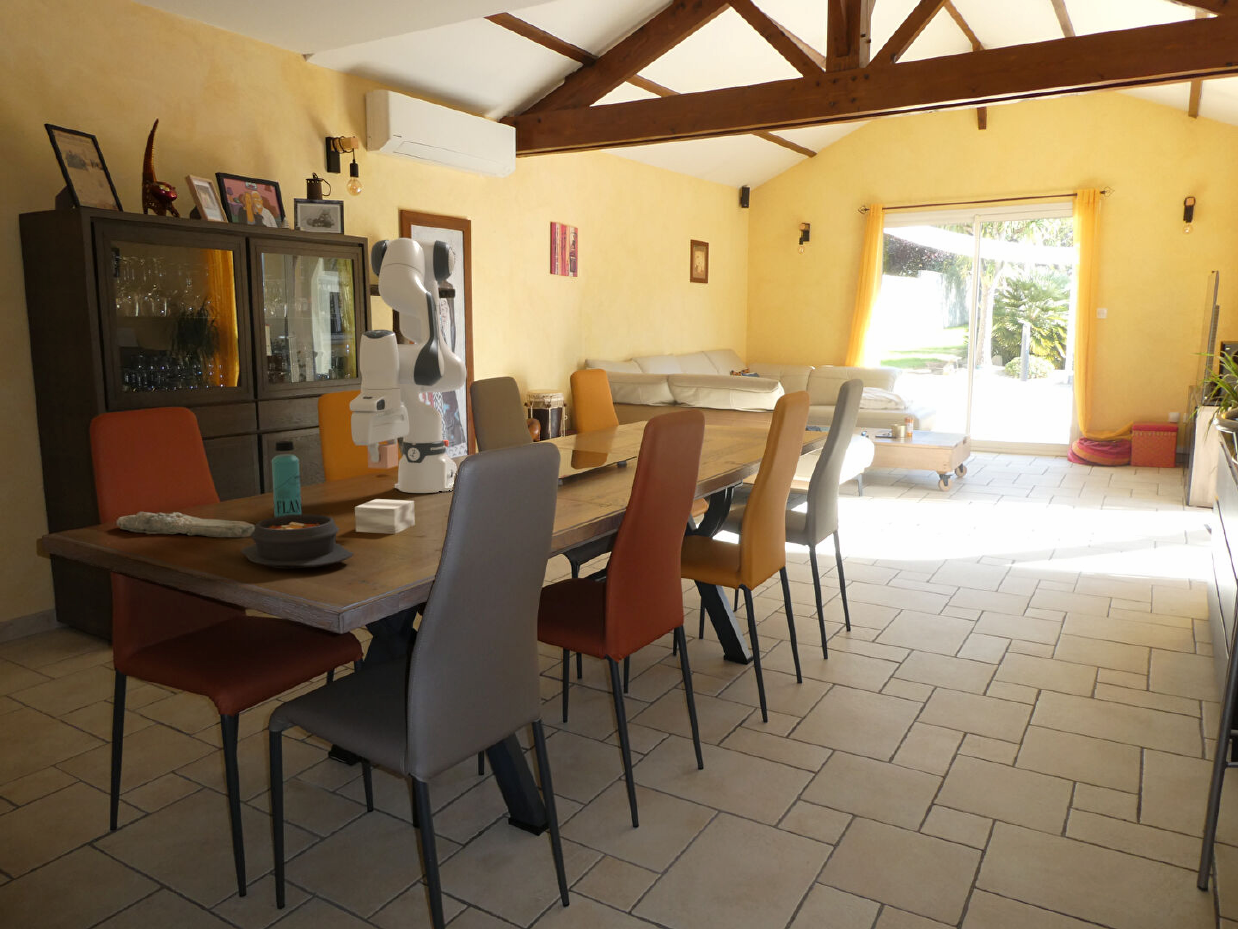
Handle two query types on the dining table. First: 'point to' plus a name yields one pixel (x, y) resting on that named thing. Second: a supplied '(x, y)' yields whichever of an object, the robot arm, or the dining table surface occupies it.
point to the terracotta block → (385, 456)
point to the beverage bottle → (286, 481)
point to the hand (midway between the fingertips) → (383, 459)
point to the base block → (384, 516)
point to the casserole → (296, 542)
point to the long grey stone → (184, 525)
